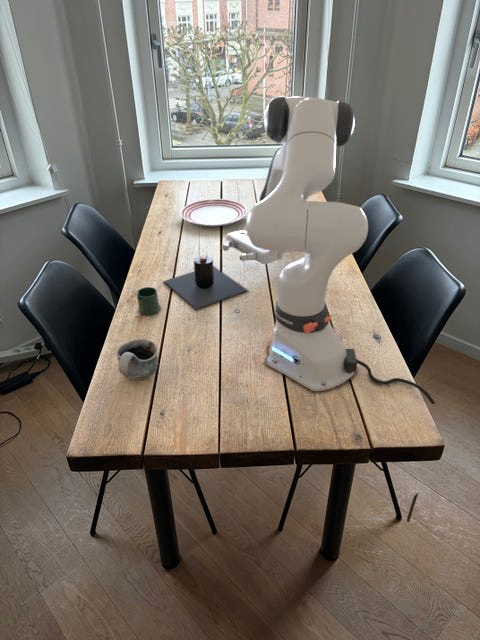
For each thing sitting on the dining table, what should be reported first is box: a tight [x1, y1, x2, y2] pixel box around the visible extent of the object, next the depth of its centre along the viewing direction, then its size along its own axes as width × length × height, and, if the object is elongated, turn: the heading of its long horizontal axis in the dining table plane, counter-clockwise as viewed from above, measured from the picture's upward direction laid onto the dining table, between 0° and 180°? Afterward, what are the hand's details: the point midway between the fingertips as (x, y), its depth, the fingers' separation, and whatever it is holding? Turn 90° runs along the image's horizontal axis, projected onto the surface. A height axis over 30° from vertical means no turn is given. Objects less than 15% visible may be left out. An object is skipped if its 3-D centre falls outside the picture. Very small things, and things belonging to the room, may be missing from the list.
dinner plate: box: [180, 198, 248, 227], centre depth 195 cm, size 27×27×3 cm
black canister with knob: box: [193, 255, 214, 289], centre depth 145 cm, size 6×6×10 cm
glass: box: [136, 286, 160, 316], centre depth 135 cm, size 6×6×6 cm
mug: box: [115, 338, 159, 381], centre depth 109 cm, size 10×12×10 cm
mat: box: [163, 266, 248, 311], centre depth 148 cm, size 20×18×1 cm
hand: (231, 253), depth 149 cm, fingers open, 8 cm apart
